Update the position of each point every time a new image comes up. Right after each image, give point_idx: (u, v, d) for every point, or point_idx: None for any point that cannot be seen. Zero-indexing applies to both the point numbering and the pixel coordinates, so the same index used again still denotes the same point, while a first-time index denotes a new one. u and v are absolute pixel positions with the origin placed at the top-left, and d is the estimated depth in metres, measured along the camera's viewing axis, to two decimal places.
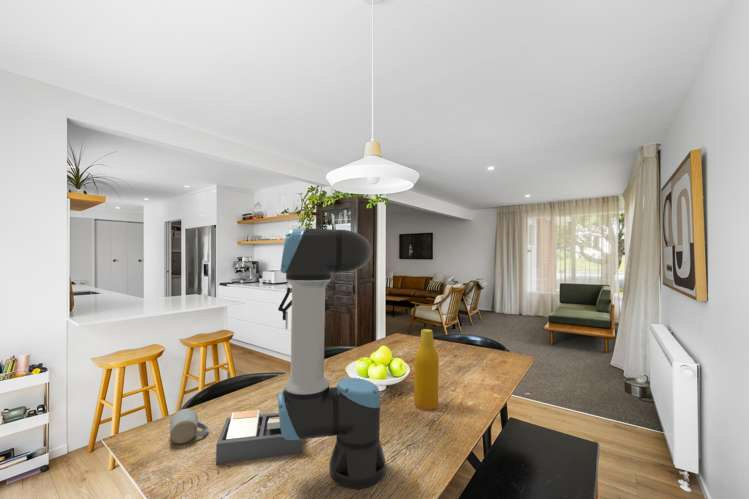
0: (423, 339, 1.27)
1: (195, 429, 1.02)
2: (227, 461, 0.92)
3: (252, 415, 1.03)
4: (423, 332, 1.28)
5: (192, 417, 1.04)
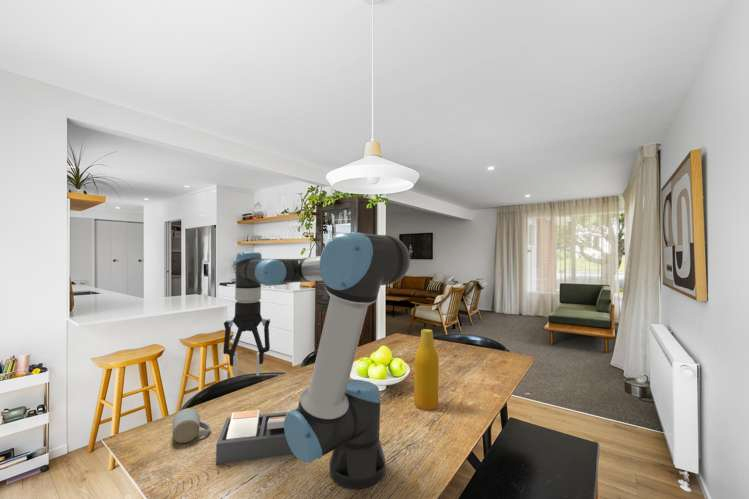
0: (423, 339, 1.27)
1: (197, 429, 1.02)
2: (227, 461, 0.92)
3: (252, 415, 1.03)
4: (423, 332, 1.28)
5: (194, 416, 1.04)
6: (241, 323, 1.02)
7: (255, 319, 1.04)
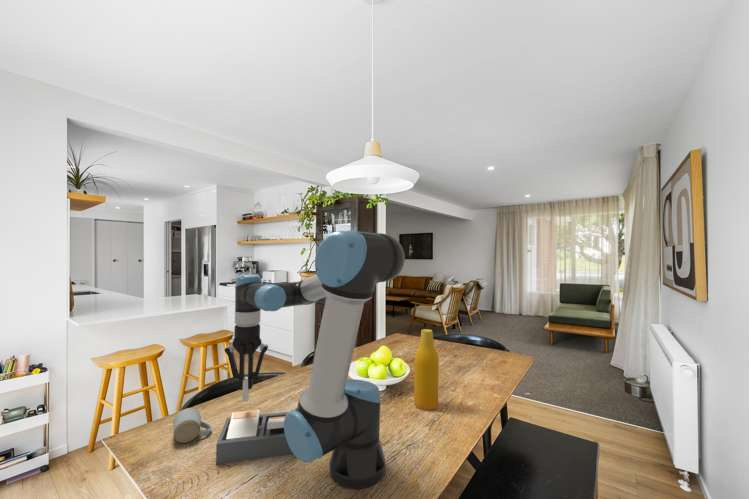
0: (423, 339, 1.27)
1: (198, 428, 1.02)
2: (227, 461, 0.92)
3: (252, 415, 1.03)
4: (423, 332, 1.28)
5: (195, 416, 1.04)
6: (241, 347, 1.02)
7: (255, 342, 1.04)
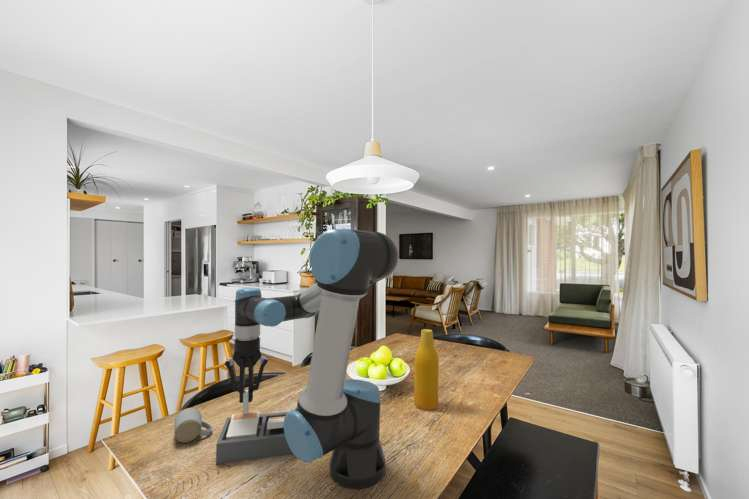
0: (423, 339, 1.27)
1: (199, 428, 1.02)
2: (227, 461, 0.92)
3: (252, 416, 1.03)
4: (423, 332, 1.28)
5: (196, 416, 1.04)
6: (241, 360, 1.02)
7: (255, 355, 1.04)
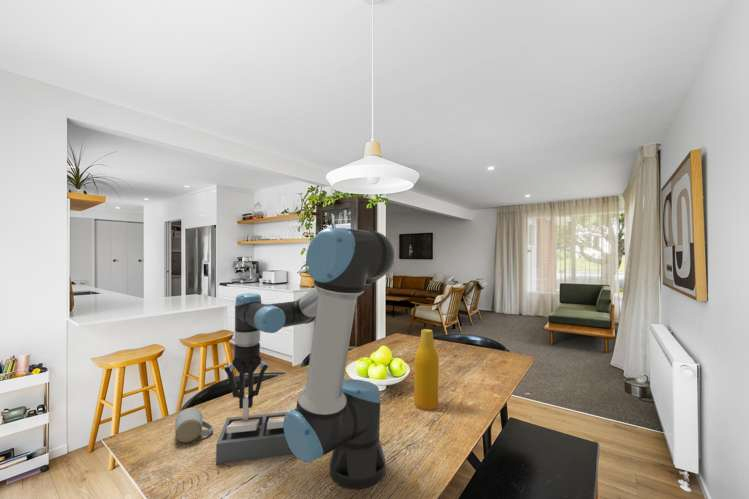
0: (423, 339, 1.27)
1: (200, 428, 1.03)
2: (227, 461, 0.92)
3: (252, 420, 1.03)
4: (423, 332, 1.28)
5: (197, 416, 1.04)
6: (240, 366, 1.02)
7: (254, 361, 1.04)
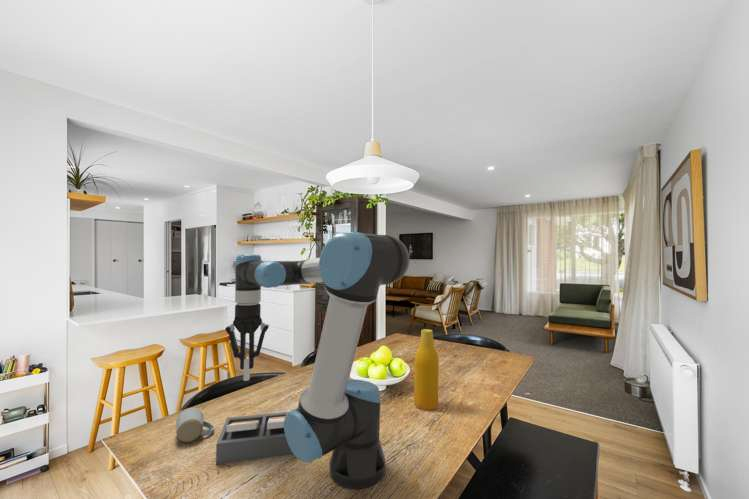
0: (423, 339, 1.27)
1: (201, 428, 1.03)
2: (227, 461, 0.92)
3: (252, 421, 1.03)
4: (423, 332, 1.28)
5: (198, 416, 1.04)
6: (241, 326, 1.02)
7: (255, 321, 1.04)
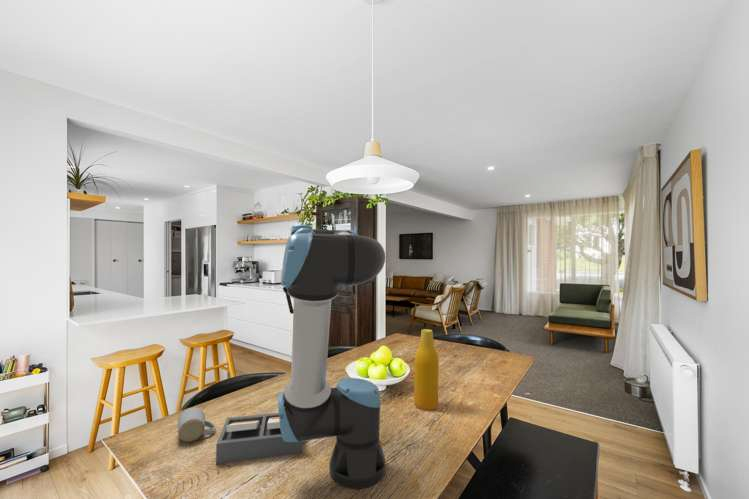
0: (423, 339, 1.27)
1: (202, 427, 1.03)
2: (227, 461, 0.92)
3: (252, 421, 1.03)
4: (423, 332, 1.28)
5: (199, 415, 1.05)
6: None
7: None
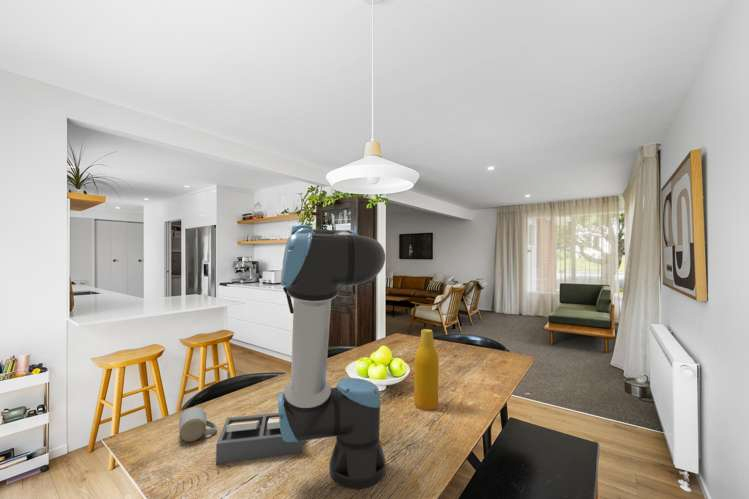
0: (423, 339, 1.27)
1: (204, 427, 1.03)
2: (227, 461, 0.92)
3: (252, 421, 1.03)
4: (423, 332, 1.28)
5: (200, 415, 1.05)
6: None
7: None
